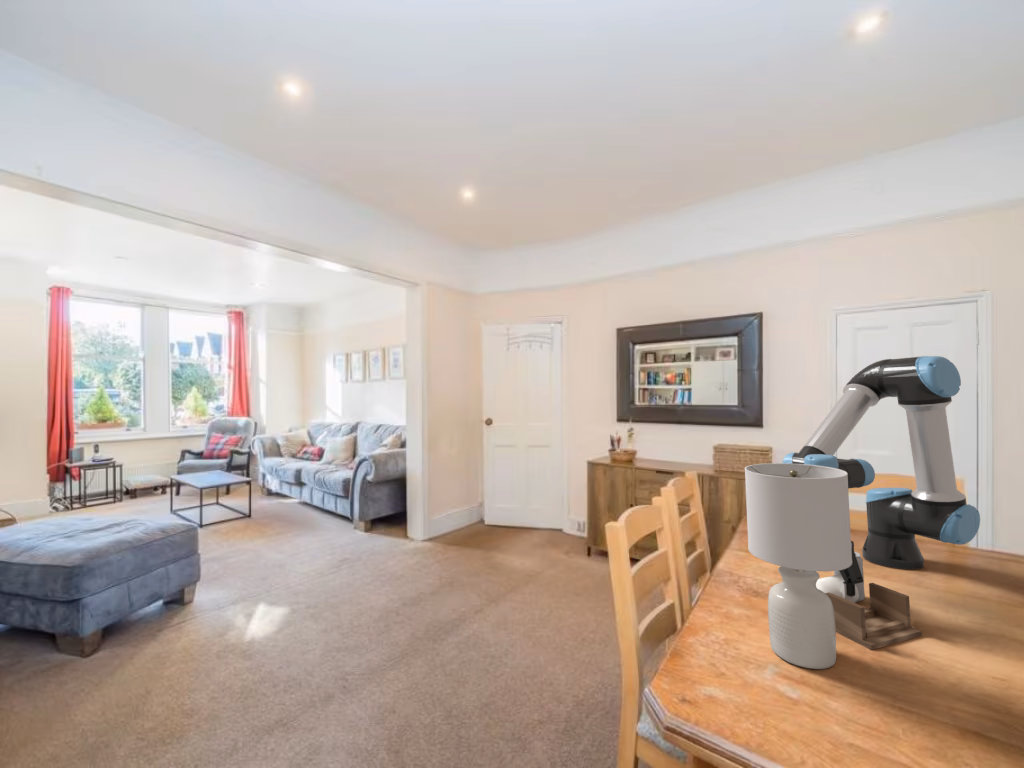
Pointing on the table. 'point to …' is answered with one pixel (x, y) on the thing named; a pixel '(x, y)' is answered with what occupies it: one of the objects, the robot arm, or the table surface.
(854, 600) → the cylinder
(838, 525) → the lamp
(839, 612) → the holder
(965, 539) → the robot arm
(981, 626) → the table surface
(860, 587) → the beverage can
